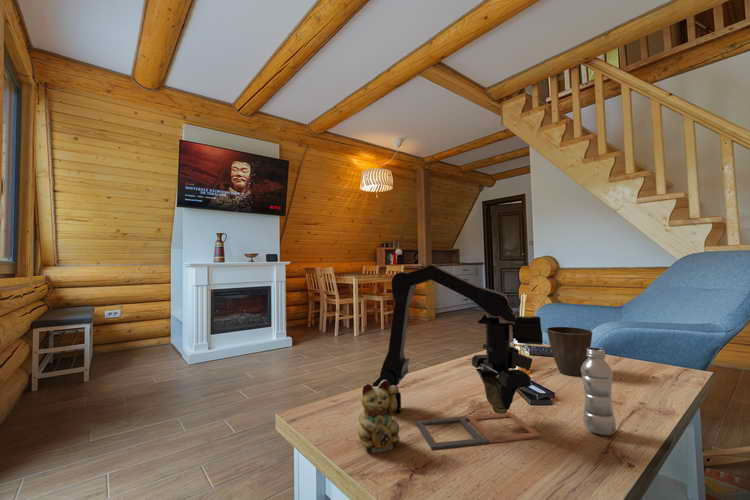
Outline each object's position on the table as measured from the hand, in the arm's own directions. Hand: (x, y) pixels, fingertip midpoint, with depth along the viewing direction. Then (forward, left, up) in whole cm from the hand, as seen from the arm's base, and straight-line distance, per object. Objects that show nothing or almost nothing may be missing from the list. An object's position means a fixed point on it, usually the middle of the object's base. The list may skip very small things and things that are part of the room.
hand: (499, 403), depth 86 cm
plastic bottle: (+22, -7, -6) cm, 24 cm away
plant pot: (+48, +34, -6) cm, 59 cm away
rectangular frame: (-7, 0, -6) cm, 9 cm away
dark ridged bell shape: (0, 0, -2) cm, 2 cm away
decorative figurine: (-32, -2, -6) cm, 32 cm away
